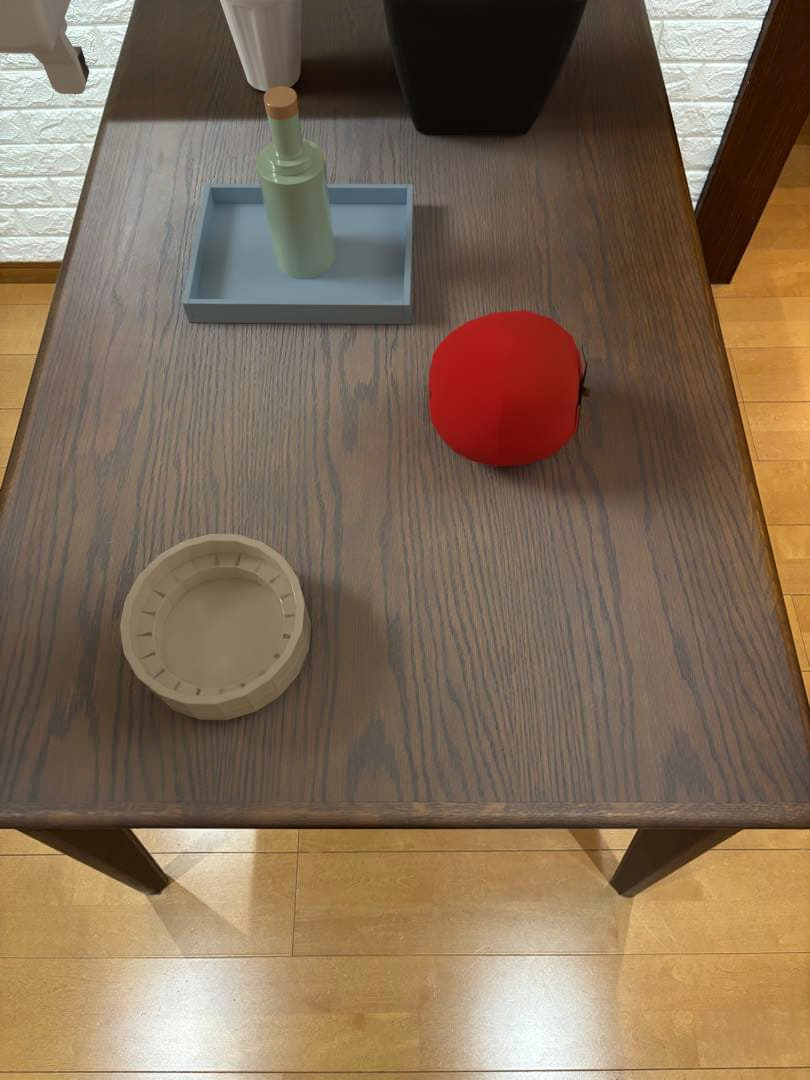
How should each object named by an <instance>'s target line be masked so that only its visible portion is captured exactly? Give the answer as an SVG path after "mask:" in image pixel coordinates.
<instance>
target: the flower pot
mask: <svg viewBox="0 0 810 1080" xmlns="http://www.w3.org/2000/svg"><path fill="white" fill-rule="evenodd" d="M382 4H383V10H384V11H383V12H384V17H385V22H386V28H387V34H388V40H389V45H390V49H391V54H392V59H393V63H394V67H395V72H396V76H397V79H398V82H399V86H400V89H401V92H402V97H403V99H404V102H405V105H406V108H407V111H408V114H409V117H410V119H411V122H412V123H413V124H412V125H413V127H414V129H415V130H416V132H417V133H420V134H424V135H524V134H527V133H529V132H530V130H531V129H532V128H533V125H534V124H535V123H536V121H537V120H538V118H539V116H540V115H541V113H542V111H543V109H544V107H545V106H546V104H547V102H548V100H549V98H550V97H551V94H552V92H553V90H554V88H555V86H556V84H557V82H558V80H559V77H560V76H561V73H562V71H563V69H564V66H565V64H566V62H567V59H568V57H569V54H570V52H571V49H572V46H573V44H574V42H575V39H576V36H577V33H578V30H579V28H580V25H581V22H582V19H583V16H584V12H585V10H586V7H587V4H588V0H382Z"/></svg>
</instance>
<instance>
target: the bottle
mask: <svg viewBox="0 0 810 1080" xmlns="http://www.w3.org/2000/svg"><path fill="white" fill-rule="evenodd" d="M263 104H264V109H265V114H266V118H267V123H268V129H269V133H270V139H271V141H270V142H269V144H268V145H266V146H264V148H262V149H261V150H260V151H259V153H258V154H257V156H256V161H255V165H256V171H257V176H258V181H259V184H260V187H261V191H262V196H263V201H264V206H265V211H266V216H267V221H268V226H269V231H270V236H271V241H272V245H273V250H274V255H275V260H276V264H277V266H278V268H279V269H280V270H281V271H282V272H283V273H284V274H286V275H288V276H290V277H293V278H297V279H310V278H315V277H318V276H320V275H322V274H324V273H326V272H327V271H328V270H329V269H330V268H331V267H332V266H333V264H334V262H335V259H336V251H335V242H334V233H333V225H332V216H331V208H330V199H329V191H328V184H329V183H328V174H327V165H326V159H325V158H326V157H325V154H324V151H323V150H322V149H321V148H320V146H318V145H317V144H316V143H314V142H312V141H311V140H308V139H306V138H305V137H303V134H302V127H301V119H300V113H299V112H300V111H299V100H298V94H297V92H296V90H294V89H293V88H291V87H286V86H277V87H273V88H271V89H269V90H268V91H265V92H264V95H263Z"/></svg>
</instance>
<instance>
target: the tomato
mask: <svg viewBox="0 0 810 1080" xmlns="http://www.w3.org/2000/svg"><path fill="white" fill-rule="evenodd" d="M581 350H582V351H581V352H582V354H583V359H584V365H585V366H584V368H583V363H582V356H581V352H580V350H579V348H578V347H577V343H576V342H575V339H574V336H573V335H572V334H571V333H569V332H568V331H567V330H566V329H565V328H564V327H562V326H561V325H560V324H559V323H557V322H556V321H555V320H554V319H552V318H551V317H548V316H545V315H542V314H539V313H536V312H533V311H531V310H527V309H520V310H507V311H498V312H492V313H488V314H486V315H485V314H484V315H482V316H479V317H477V318H473V319H471V320H467V321H466V322H465V323H463V324H462V325H460V326H458V327H456V328H455V329H453V330H451V332H449V334H448V335H447V336H446V337H445V338H444V339H443V340H442V341H441V342H440V343H439V344H438V345H437V347H436V348H435V350H434V352H433V354H432V357H431V363H430V368H429V372H428V391H427V394H428V395H427V399H428V407H429V408H428V409H429V417H430V418H429V419H430V421H431V424H432V426H433V427H434V429H435V432H436V433H437V435H438V436H439V437H440V438H441V440H442V441H443V442H444V443H445V444H446V445H447V446H448V448H450V449H451V450H452V451H453V452H454V453H456V454H457V455H459V456H461V457H463V458H465V459H467V460H469V461H471V462H475V463H479V464H483V465H487V466H491V467H515V466H517V467H518V466H520V467H521V466H525V465H529V464H533V463H535V462H539V461H541V460H545V459H548V458H550V457H552V456H553V455H555V454H556V453H557V452H558V451H560V450H561V449H563V448H564V447H565V446H566V445H567V444H568V443H569V442H570V440H571V439H572V437H573V436H574V435H575V434H576V433H578V432H579V425H580V419H581V421H582V420H583V415H582V405H583V404H582V403H583V397H585V398H586V397H587V398H588V397H590V394H591V390H592V388H590V387H585V383H586V377H587V373H588V361H587V358H586V356H585V355H586V354H585V352H584V344H582V346H581ZM583 369H584V370H583ZM583 371H584V372H583ZM577 437H578V434H576V436H575V439H577Z"/></svg>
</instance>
